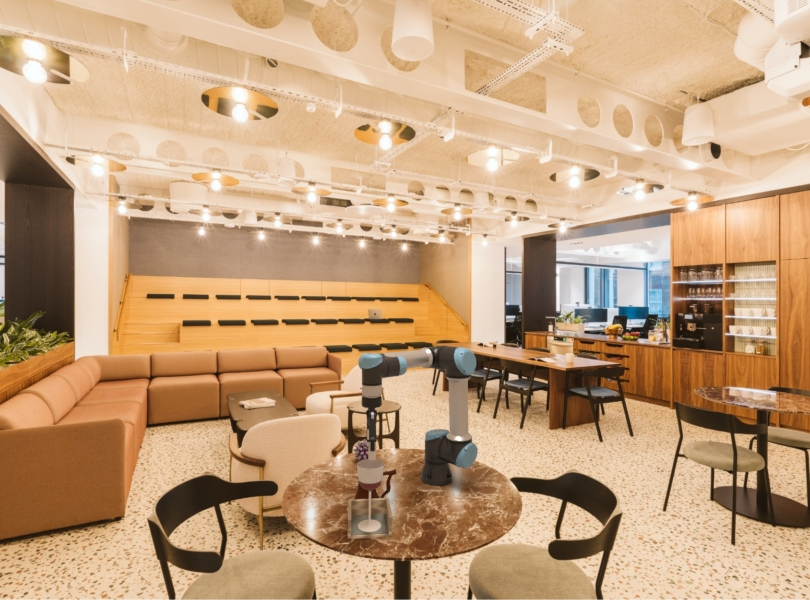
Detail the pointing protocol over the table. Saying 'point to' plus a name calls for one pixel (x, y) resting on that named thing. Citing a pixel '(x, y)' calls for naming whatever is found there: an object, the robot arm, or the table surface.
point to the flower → (361, 450)
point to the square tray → (379, 512)
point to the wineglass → (370, 487)
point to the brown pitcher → (365, 493)
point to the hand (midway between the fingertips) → (371, 452)
